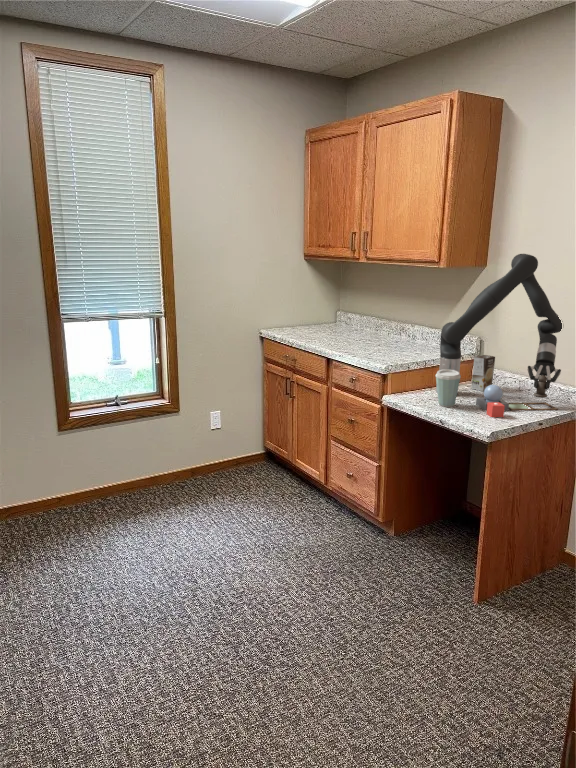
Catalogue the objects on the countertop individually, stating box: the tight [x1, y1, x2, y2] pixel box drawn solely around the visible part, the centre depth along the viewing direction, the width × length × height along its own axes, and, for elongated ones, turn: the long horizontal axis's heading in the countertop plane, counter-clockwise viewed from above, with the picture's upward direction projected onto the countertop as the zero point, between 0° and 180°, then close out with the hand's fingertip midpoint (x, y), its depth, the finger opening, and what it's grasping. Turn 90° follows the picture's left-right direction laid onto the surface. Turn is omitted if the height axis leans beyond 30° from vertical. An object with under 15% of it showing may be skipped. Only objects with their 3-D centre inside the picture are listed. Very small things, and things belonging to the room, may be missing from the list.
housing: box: [475, 397, 509, 412], centre depth 242 cm, size 10×10×3 cm
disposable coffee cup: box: [435, 369, 462, 408], centre depth 243 cm, size 11×11×15 cm
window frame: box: [507, 401, 559, 412], centre depth 244 cm, size 21×10×1 cm, turn 94°
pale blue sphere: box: [483, 384, 504, 402], centre depth 241 cm, size 8×8×9 cm
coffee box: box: [470, 354, 496, 392], centre depth 272 cm, size 9×6×16 cm
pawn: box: [533, 375, 548, 399], centre depth 242 cm, size 5×5×9 cm
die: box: [486, 402, 505, 419], centre depth 230 cm, size 5×5×5 cm
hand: (541, 388), depth 241 cm, fingers closed on pawn, 3 cm apart
